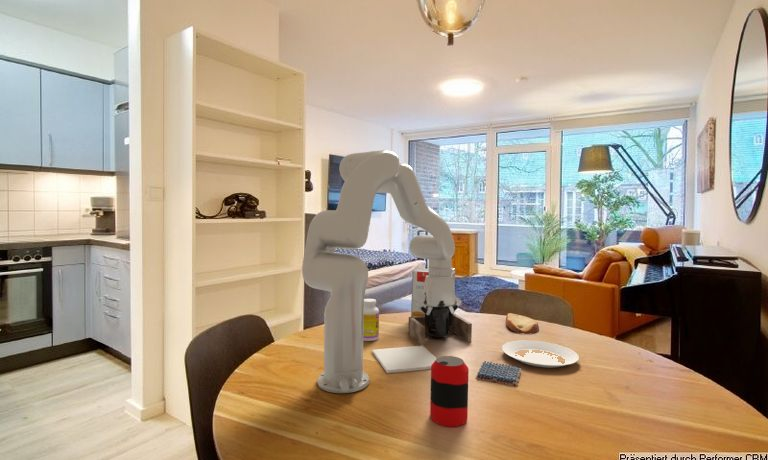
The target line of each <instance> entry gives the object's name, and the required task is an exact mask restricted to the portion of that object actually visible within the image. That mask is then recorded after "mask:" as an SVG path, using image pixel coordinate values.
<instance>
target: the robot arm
mask: <svg viewBox="0 0 768 460" xmlns="http://www.w3.org/2000/svg"><path fill="white" fill-rule="evenodd" d="M399 158H400V157H399V156H398V155H397V153H395V152H393V151H392V150H384V149H383V150H373V151H366V152H355V153H350V154H347V155H346V156H344V157H343V158H342V159H341V161H340V162H339V175H340V176H341V179H343V181H344V182H343V184H342V187H341V189H340V193H339V197H338V201H337V206H336V209H335V210H334V209H332V210H331V209H328V210H321V211H320V212H318V213H317V214H316V215H315V216H314V217H313V218H312V220H311V221H310V223H309V226H308V230H307V236H306V242H305V246H304V254H303V258H302V259H303V261H302V266H301V268H302V269H301V274H302V278H303V281H304V282H305V284H306V285H307V286H309V287H310V288H312V289H315V290H319V291H320V290H321V291H326V292H330V297H329V299H328V300H327V303H326V305H325V307H324V315H323V322H324V324H323V325H324V328H323V329H324V331H323V335H324V337H323V338H324V339H323V340H324V342H323V344H324V345H323V362H324V363H323V372H322V373H321V374H320V375H319V376H318V377H317V386H318V387H319V388H320V389H321V390H323V391H326V392H328V393H333V394H349V393H350V394H351V393H354V392H358V391H361V390H363V389H365V388H366V387H367V386H368V385H369V384H370V376H369V375H368V373H367V372H365V371H364V341H363V313H364V299H365V297H366V289H367V284H368V280H369V269H368V266H367V264H366V263H365V261H364V260H363V259H362V258H360V257H358V256H356V255H353V254H347V253H338V252H335V250H336V249H346V250H356V249H357V250H358V249H361V248H363V247H364V246H365V244H366V243H367V240H368V236H369V232H370V227H371V226H370V224H371V219H372V211H373V206H374V201H375V198H376V194H390V196H391V198H392V199H393V203H394V204H395V207H396V209H397V211H398V214H399V216H400V218H401V219H403V220H404V221H405V222H407V223H409V224H411V225H412V226H415V227H418V228H420V229H423V230H424V231H426V232H427V233H429V235H427V234H418V235H416V236H414V237H412V238H411V240H410V243H409V247H408V248H409V252H410V253H411V255H412V256H414V257H415V258H418V259H425V260H428V269H429V273H428V276H426V278H425V283H424V290H423V296H422V297H421V298H420V299H419V300H418V301H417V302H416V304H417V306H418V307H419V308H420V309H421V310H422V311H423V312H424V313H425V324H426V325H427V326H428V327H431V315H430V312H431V310H432V308H433V307H438V306H437V305H439V301H442V300H443V301H444V304H445V305H444V306H445V307H448V309H449V325H450V326H452V322H453V314H455V312H456V311H457V309H459V307H460V306H461V304H462V303H463V302H462V300H461V299H460V298H459V297H458V296H457V295H456V289H455V287H456V286H454V280H453V276H451V275H452V273H453V272H455V273H456V269H455V268H453V267H452V263H453V262H452V257H454V255H455V251H456V244H455V240H454V239H455V238H454V237H453V233H452V230H451V229H450V227H449V224H448V223H447V222H446V220H445V219H443V217H442V216H441V215H439V214H438V213H437V212H436V211H434V209H432V208H431V207H430V206H428V204H427V202H426V200H425V196H424V195H423V192H422V189H421V186H420V183H419V180H418V179H417V176H416V173H415V171H414V168H413V167H411V166H410V165H409V164H407V163H401V162H400V159H399ZM422 303H424V304H426V307H424V306H423V305H422ZM452 305H453V306H452Z"/></svg>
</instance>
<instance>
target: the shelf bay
mask: <svg viewBox="0 0 768 460" xmlns="http://www.w3.org/2000/svg"><path fill="white" fill-rule="evenodd" d="M472 327H473V324H472V322H470V321H468V320H467V319H465V318H463V317H461V316H460V315H458V314H456V313H454V314H453V322H452V326H450V325H449V333H454V334H456V335H457V336H459V338H461V339H463V340H465V341H466V342H467V343H471V342H472V339H473V338H472V334H473V332H472V331H473V330H472V329H473V328H472ZM408 335H409V336H410V337H411V338H412V339H413V340H414V341H415V342H417V344H418V345H419V346H424V347H425V346H426V335H430V334H429V332H428V326H427V325H426V324H425V316H418V317H411V316H409V317H408Z"/></svg>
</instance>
